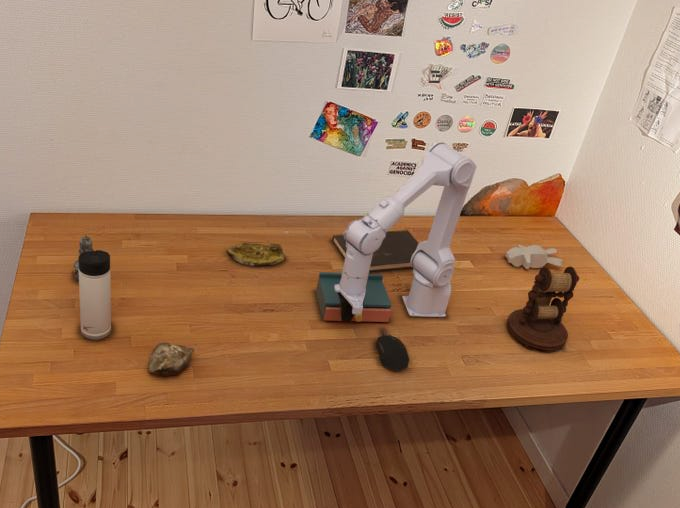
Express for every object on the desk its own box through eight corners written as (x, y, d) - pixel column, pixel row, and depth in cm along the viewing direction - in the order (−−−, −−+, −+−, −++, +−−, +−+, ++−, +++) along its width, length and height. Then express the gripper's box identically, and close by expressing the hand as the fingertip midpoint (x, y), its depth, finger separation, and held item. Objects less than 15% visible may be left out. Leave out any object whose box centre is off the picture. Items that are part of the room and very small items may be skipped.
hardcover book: (430, 266, 203) (432, 259, 202) (353, 273, 195) (355, 266, 194) (405, 235, 215) (406, 228, 214) (331, 241, 207) (333, 233, 206)
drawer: (379, 295, 187) (381, 284, 185) (389, 325, 177) (392, 313, 176) (317, 293, 184) (319, 282, 182) (324, 323, 174) (327, 312, 172)
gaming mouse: (395, 331, 177) (398, 317, 175) (411, 373, 165) (415, 359, 163) (369, 330, 176) (372, 317, 174) (383, 373, 164) (387, 359, 162)
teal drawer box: (377, 294, 189) (382, 274, 185) (387, 321, 180) (392, 301, 176) (315, 292, 185) (319, 271, 182) (322, 319, 176) (326, 299, 173)
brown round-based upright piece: (547, 316, 192) (573, 251, 181) (575, 354, 180) (605, 287, 169) (495, 317, 188) (519, 250, 177) (520, 355, 176) (547, 287, 165)
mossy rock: (226, 267, 190) (284, 270, 193) (227, 253, 187) (286, 257, 190) (226, 244, 197) (282, 248, 200) (227, 230, 194) (284, 234, 197)
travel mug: (85, 343, 157) (82, 265, 146) (77, 325, 162) (74, 248, 151) (114, 338, 160) (114, 261, 149) (106, 319, 165) (106, 244, 154)
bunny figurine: (504, 240, 213) (555, 240, 214) (501, 255, 216) (551, 255, 217) (513, 259, 205) (566, 258, 206) (510, 274, 208) (562, 273, 209)
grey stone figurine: (68, 279, 175) (66, 236, 168) (84, 267, 180) (82, 225, 173) (89, 287, 174) (88, 244, 167) (104, 275, 178) (104, 233, 172)
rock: (160, 380, 148) (202, 370, 155) (156, 347, 148) (199, 338, 155) (141, 376, 154) (183, 366, 161) (138, 344, 153) (180, 336, 160)
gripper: (332, 252, 169) (324, 300, 176) (343, 290, 157) (333, 340, 164) (362, 253, 170) (352, 301, 177) (376, 291, 158) (364, 340, 166)
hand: (345, 319), depth 171 cm, fingers closed
